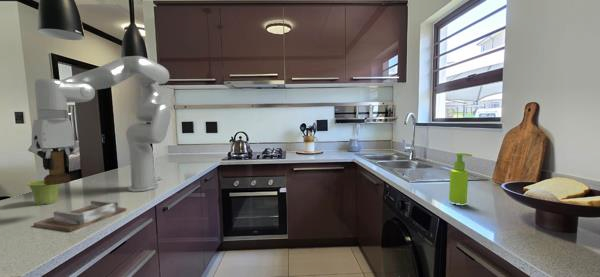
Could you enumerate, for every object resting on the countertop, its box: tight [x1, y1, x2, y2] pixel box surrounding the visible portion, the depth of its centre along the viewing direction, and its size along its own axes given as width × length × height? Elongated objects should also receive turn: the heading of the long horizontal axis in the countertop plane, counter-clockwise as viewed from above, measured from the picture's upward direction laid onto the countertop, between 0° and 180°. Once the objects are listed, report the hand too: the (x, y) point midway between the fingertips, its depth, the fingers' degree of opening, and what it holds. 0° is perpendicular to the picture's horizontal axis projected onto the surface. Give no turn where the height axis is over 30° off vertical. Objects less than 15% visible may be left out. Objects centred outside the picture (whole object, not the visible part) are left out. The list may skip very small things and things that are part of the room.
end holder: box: [33, 199, 127, 233], centre depth 86 cm, size 18×16×4 cm
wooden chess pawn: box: [43, 148, 71, 185], centre depth 87 cm, size 7×6×18 cm
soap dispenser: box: [448, 152, 473, 204], centre depth 98 cm, size 6×7×20 cm
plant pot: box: [27, 179, 60, 206], centre depth 101 cm, size 9×9×9 cm
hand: (56, 167), depth 87 cm, fingers closed on wooden chess pawn, 3 cm apart
